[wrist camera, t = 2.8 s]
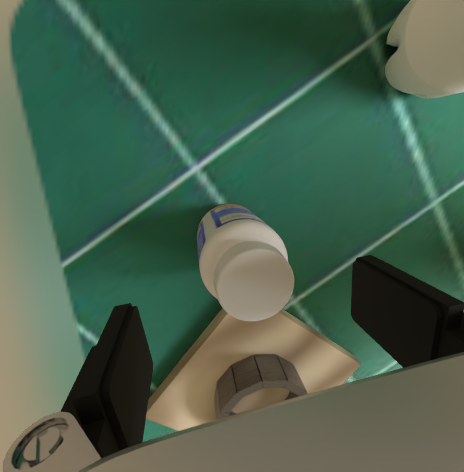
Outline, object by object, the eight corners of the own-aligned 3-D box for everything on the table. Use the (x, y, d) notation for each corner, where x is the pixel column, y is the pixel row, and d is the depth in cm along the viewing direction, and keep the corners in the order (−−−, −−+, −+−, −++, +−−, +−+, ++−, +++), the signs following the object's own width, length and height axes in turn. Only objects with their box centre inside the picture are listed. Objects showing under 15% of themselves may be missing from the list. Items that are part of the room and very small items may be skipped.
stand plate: (352, 354, 28) (361, 364, 26) (262, 449, 30) (266, 463, 29) (242, 283, 23) (246, 291, 22) (145, 402, 25) (142, 417, 24)
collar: (314, 375, 26) (329, 402, 23) (262, 431, 27) (271, 463, 24) (251, 340, 23) (260, 365, 20) (197, 404, 24) (198, 436, 22)
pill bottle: (230, 274, 23) (258, 352, 13) (182, 238, 21) (177, 300, 12) (271, 229, 22) (330, 279, 13) (225, 188, 20) (255, 212, 11)
